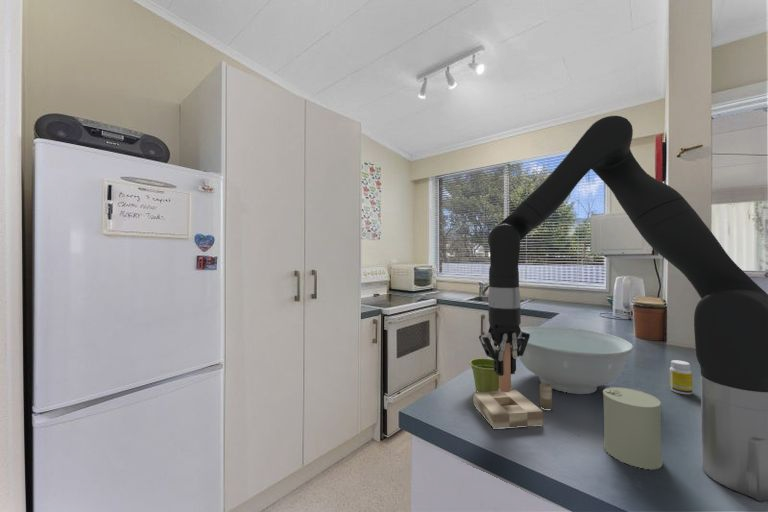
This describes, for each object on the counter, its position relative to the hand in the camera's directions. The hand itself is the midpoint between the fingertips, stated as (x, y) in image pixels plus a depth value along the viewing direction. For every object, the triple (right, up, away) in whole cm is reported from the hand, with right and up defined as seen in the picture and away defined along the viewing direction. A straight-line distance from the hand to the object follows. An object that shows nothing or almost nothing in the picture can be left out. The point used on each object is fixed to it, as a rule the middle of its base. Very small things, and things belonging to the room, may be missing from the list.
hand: (505, 373), depth 79 cm
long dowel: (0, -4, 0) cm, 4 cm away
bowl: (+26, -10, +19) cm, 34 cm away
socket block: (0, -10, 0) cm, 10 cm away
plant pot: (0, -11, +13) cm, 17 cm away
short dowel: (+12, -10, +3) cm, 16 cm away
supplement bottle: (+55, -10, +12) cm, 57 cm away
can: (+19, -10, -16) cm, 27 cm away
